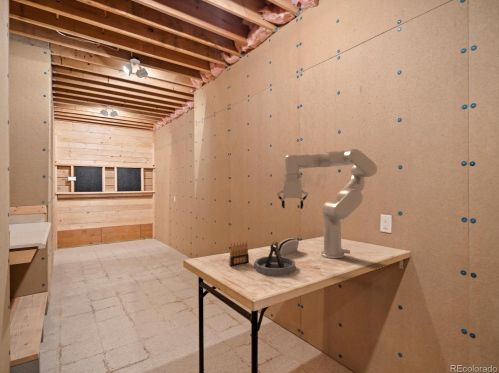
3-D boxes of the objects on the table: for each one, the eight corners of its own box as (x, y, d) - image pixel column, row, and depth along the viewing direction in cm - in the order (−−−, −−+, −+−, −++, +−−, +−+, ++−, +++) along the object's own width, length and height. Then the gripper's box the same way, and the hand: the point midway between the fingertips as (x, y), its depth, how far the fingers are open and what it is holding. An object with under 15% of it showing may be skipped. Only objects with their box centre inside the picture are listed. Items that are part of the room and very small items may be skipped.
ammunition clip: (230, 266, 130) (230, 243, 130) (229, 265, 132) (228, 242, 131) (249, 263, 135) (248, 240, 135) (247, 262, 137) (247, 240, 137)
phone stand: (284, 265, 129) (284, 242, 129) (282, 269, 123) (282, 244, 123) (266, 264, 131) (266, 241, 131) (264, 268, 126) (264, 244, 125)
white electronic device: (290, 248, 162) (294, 235, 159) (296, 252, 159) (300, 238, 156) (273, 254, 151) (277, 239, 148) (279, 258, 147) (283, 243, 145)
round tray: (296, 262, 135) (295, 257, 135) (293, 276, 115) (293, 270, 115) (258, 260, 139) (258, 255, 139) (250, 273, 120) (250, 267, 120)
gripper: (308, 177, 143) (308, 207, 143) (277, 177, 146) (277, 207, 147) (308, 177, 135) (308, 209, 136) (275, 177, 139) (276, 208, 140)
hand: (292, 208), depth 141 cm, fingers open, 9 cm apart
